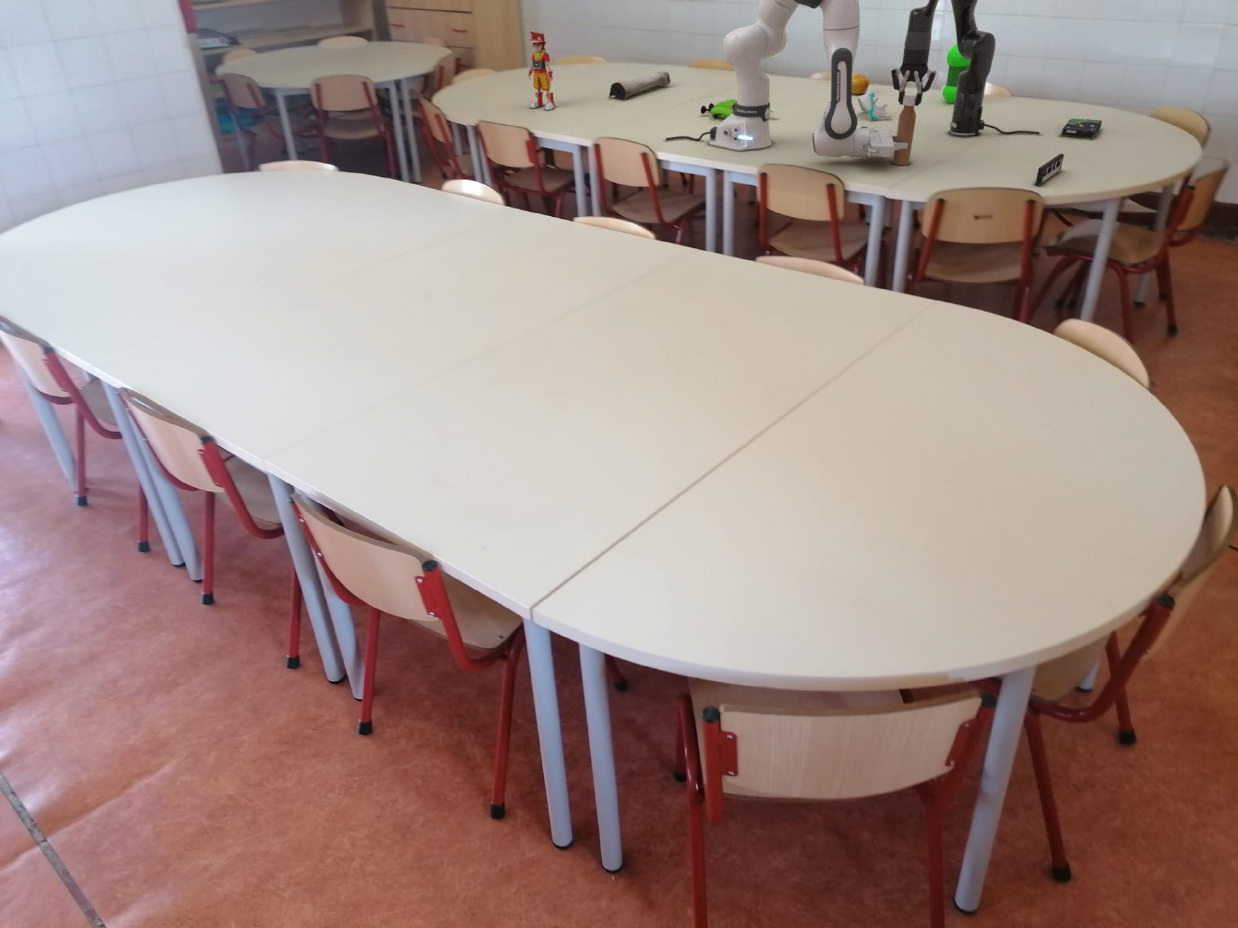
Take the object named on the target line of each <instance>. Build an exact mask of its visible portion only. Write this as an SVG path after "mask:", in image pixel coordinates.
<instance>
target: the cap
mask: <svg viewBox="0 0 1238 928" xmlns="http://www.w3.org/2000/svg"><path fill="white" fill-rule="evenodd" d="M915 102H916V94H915V95H914V94H905V96H903V102H902V106H904V105H906V106H914V107H916V106H915Z"/></svg>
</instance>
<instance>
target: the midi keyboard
mask: <svg viewBox="0 0 1238 928" xmlns="http://www.w3.org/2000/svg"><path fill="white" fill-rule="evenodd" d="M1064 157H1065V153H1059V154H1058V155H1056V156H1055V157H1052V159H1051V160H1049V161H1047V162H1045V164H1042V165H1041V166H1039V167H1038V169H1037V175H1036V179H1035V186H1040V185H1042V183H1044V182H1045V181H1047V180H1048V179H1049V178H1051V177H1052V176H1054V175H1055V174H1056V173H1058V172H1060V171H1061V170H1062V165H1063V161H1064Z"/></svg>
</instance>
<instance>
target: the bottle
mask: <svg viewBox="0 0 1238 928" xmlns="http://www.w3.org/2000/svg"><path fill="white" fill-rule="evenodd" d="M916 120H917V114H916V109H915V106H906V105H903V108H902V110H901V111H900V113H899V115H898V120H897V129H896V134H895V135H896V142H897V143H902V142H907V143H908V147H907V149H899V150H894V155H893V156H892V164H894V165H896V166H906V165H909V164H910V158H911V153H912V148H913V147H912V146H913V140H914V132H915V126H916Z"/></svg>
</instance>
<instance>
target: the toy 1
mask: <svg viewBox="0 0 1238 928" xmlns="http://www.w3.org/2000/svg"><path fill="white" fill-rule="evenodd" d="M529 33H530V35H531V36H528V37H527V38H528V39H529V40H528V41H527V43H529V44H530V43H531V44H532V48H533V50H534V51H533V52H532V55H531V58H530V59H531V63H530V66H528V74H527V75H528V76H527V77H528V79H529V80H531V75H532V74H533V84H532V85H533V86H532V87H533V88H534V89H535V90H536V92H534V95H535V97H536V100H535V101H533V102H531V105H530V108H531V109H535V108H538V107H542V106H544V101H543V100H544V99H543V95H544V92H546V94H545V97H546V99H547V103H546V104H545V106H544V110H546V111H549V110H553V109H554V107H555V106H556V105H555V99H554V92H551V91H550V90H551V86H552V84H551V82H552V81H553V80H554V77H553V73H554V71H555V70H554V69H552V68H551V63H550V61H551V59H550V58H551V57H550V54H549V53H548V52H547V50H546V48H545V46H546V44H547V41H545V35H544V33H543V32H542V33H539V32H535V31H529Z"/></svg>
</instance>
